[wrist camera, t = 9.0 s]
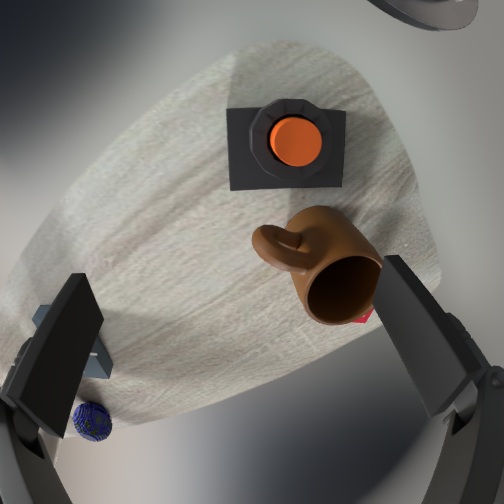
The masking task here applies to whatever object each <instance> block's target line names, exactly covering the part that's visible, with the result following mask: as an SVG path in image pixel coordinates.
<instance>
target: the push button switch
mask: <svg viewBox="0 0 504 504" xmlns="http://www.w3.org/2000/svg"><path fill="white" fill-rule="evenodd" d="M289 117H297V118H301V119H305V120H308V121H310V122H311V123H313V124H314V125H315V126H316V127H317V129H318V130H319V132H320V134H321V138H322V146H321V150H320V152H319V154H318V156H317V157H316V158H315V159H314V160H313V161H312V162H311V163H309V164H307V165H304V166H291V165H288V164H286V163H285V162H283V161H282V160H281V159H280V158H279V157H278V156H277V155H276V154H275V153H274V151H273V150H272V147H271V144H270V135H271V131H272V129H273V128H274V126H275V125H276V124H277V123H278V122H279V121H281V120H283V119H285V118H289ZM226 121H227V142H228V161H229V179H230V191H240V190H258V189H280V188H316V187H342V178H343V163H344V146H345V121H346V111H341V110H331V109H320V108H318V107H316V106H315V105H313V104H312V103H310V102H308V101H307V100H304V99H277V100H275V101H274V102H272V103H270V104H268V105H266V106H265V107H260V108H232V109H226Z"/></svg>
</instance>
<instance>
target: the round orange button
mask: <svg viewBox="0 0 504 504" xmlns="http://www.w3.org/2000/svg"><path fill="white" fill-rule="evenodd" d="M270 144H271V147H272V150H273V151H274V153H275V154H276V155H277V156H278V157H279V158H280V159H281V160H282V161H283V162H285V163H286V164H288V165H291V166H304V165H307V164H309V163H311V162H312V161H313V160H314V159H315V158H316V157H317V156H318V154H319V152H320V150H321V146H322V138H321V134H320V132H319V130H318V129H317V127H316V126H315V125H314V124H313V123H311V122H310V121H308V120H305V119H301V118H297V117H289V118H285V119H283V120H281V121H279V122H278V123H277V124H276V125H275V126H274V128H273V129H272V131H271V135H270Z"/></svg>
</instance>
